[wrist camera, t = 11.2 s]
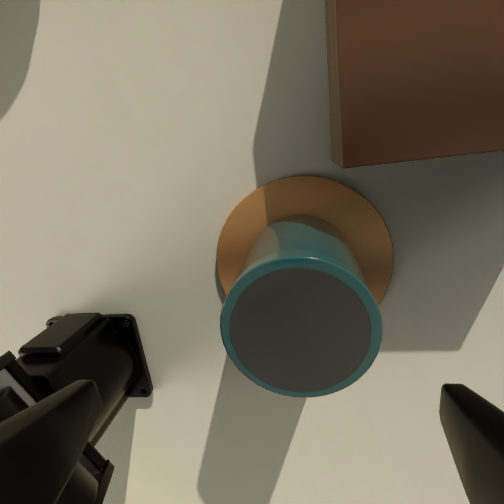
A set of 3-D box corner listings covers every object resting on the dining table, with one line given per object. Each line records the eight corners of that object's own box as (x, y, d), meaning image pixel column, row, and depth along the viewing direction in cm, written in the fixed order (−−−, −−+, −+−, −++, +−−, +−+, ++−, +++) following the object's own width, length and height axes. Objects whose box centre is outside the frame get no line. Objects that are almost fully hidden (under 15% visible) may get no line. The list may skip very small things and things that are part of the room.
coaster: (391, 335, 20) (392, 339, 19) (230, 339, 21) (229, 342, 21) (392, 165, 17) (394, 166, 16) (205, 185, 18) (203, 186, 18)
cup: (355, 310, 19) (383, 400, 12) (254, 314, 20) (230, 398, 13) (352, 209, 17) (383, 251, 11) (241, 219, 18) (207, 263, 12)
